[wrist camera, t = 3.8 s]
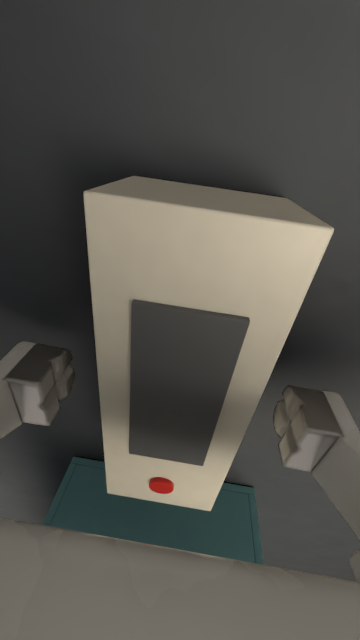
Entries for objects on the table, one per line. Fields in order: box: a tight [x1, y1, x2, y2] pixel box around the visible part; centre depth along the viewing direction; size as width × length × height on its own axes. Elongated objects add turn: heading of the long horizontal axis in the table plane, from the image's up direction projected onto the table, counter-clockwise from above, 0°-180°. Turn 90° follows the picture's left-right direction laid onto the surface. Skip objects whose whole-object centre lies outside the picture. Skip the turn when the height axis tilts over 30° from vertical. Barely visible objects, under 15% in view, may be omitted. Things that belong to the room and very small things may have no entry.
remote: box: [83, 176, 334, 511], centre depth 9 cm, size 11×4×3 cm, turn 173°
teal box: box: [42, 457, 263, 565], centre depth 16 cm, size 15×11×7 cm
